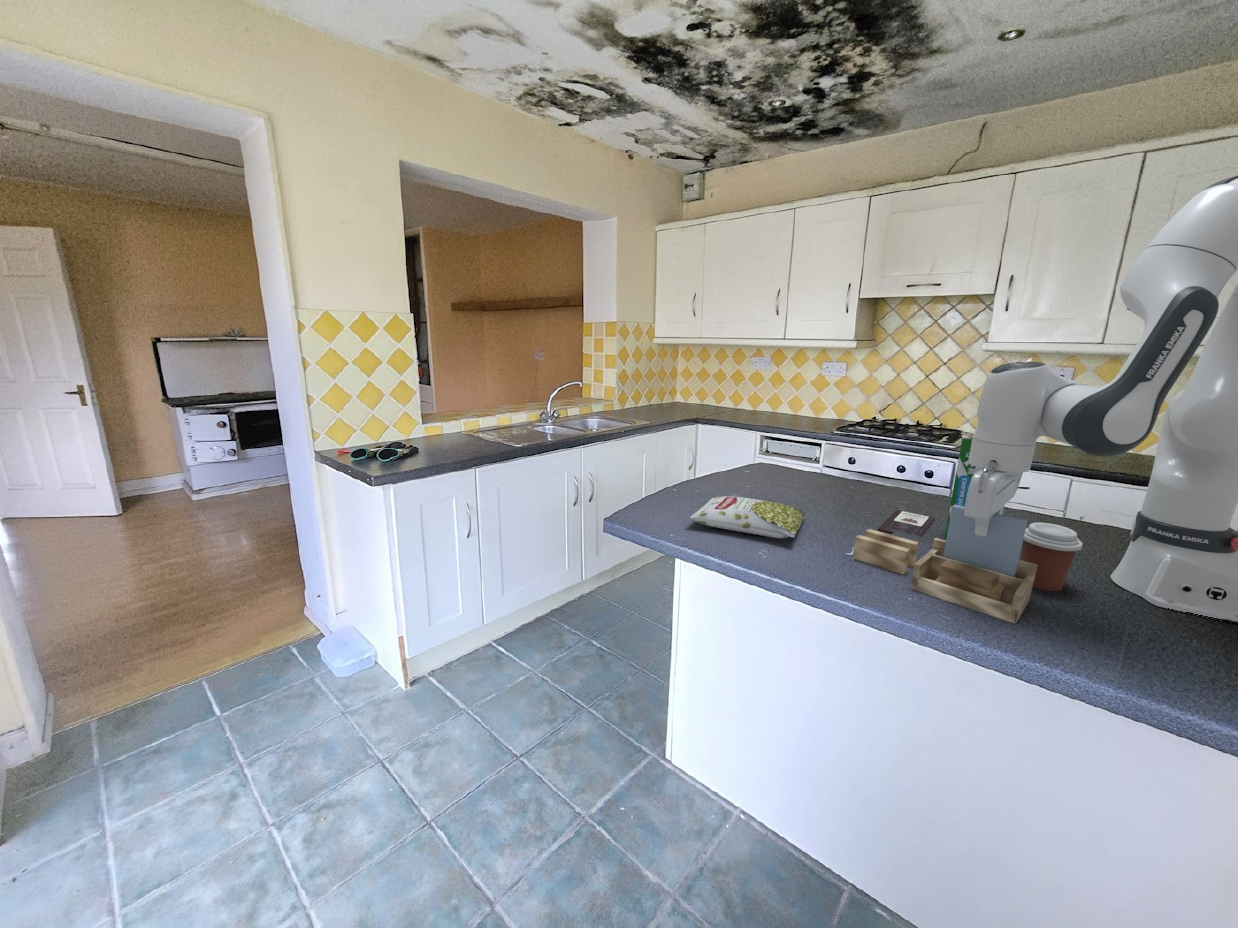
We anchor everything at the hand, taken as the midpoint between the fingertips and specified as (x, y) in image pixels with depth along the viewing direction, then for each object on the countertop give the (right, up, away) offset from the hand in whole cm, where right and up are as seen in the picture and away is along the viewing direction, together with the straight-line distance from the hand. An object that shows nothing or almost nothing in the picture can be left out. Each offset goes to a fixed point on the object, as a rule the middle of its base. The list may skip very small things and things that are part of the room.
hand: (985, 530), depth 92 cm
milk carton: (+15, -6, +26) cm, 31 cm away
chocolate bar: (+7, -4, +37) cm, 38 cm away
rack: (-2, -13, +1) cm, 13 cm away
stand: (-11, -9, +14) cm, 20 cm away
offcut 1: (-4, -9, -1) cm, 9 cm away
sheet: (0, -11, +3) cm, 12 cm away
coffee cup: (+14, -12, +6) cm, 19 cm away
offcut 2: (-3, -10, -1) cm, 11 cm away
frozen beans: (-34, -4, +36) cm, 50 cm away
